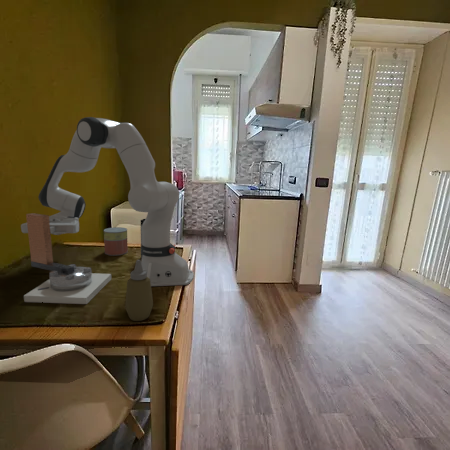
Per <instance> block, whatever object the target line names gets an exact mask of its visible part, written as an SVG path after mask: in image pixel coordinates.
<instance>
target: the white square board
mask: <svg viewBox="0 0 450 450" xmlns="http://www.w3.org/2000/svg"><path fill="white" fill-rule="evenodd" d="M111 280H112V273H98V272H97V273H93V272H92V282H91V284H89V285H88V286H86V287H84V288H81V289H77V290H73V291H55V290H53V289H51V287H50V278H49V279H47V280H46V281H44V282H42V283H40V284H39V285H38V286H36V287H35V288H33V289H32V290H30V291H29V292H27V293H26V294H24V295H23V300H24V303H42V302H43V303H46V304H47V303H48V304H49V303H50V304H69V305H70V304H73V305H75V304H76V305H87V304H88V303H90V301H92V299H93V298H95V297H96V295H98V293H99V292H100V291H101V290H102V289H103V288H104V287H105V286H106V285H108V283H109V282H110V281H111Z"/></svg>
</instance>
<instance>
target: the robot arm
mask: <svg viewBox="0 0 450 450" xmlns="http://www.w3.org/2000/svg"><path fill="white" fill-rule="evenodd" d="M102 148H103V149H116V151H117V154H118V155H119V158H120V160H121V161H122V164H123V165H124V168H125V170H126V172H127V175H128V178H129V183H130V190H128V191H129V192H128V195H127V198H128V199H127V200H128V204H129V205H130V207H131V208H132V209H133V210H135V212H139V213H147V214H146V217H145V218H144V219H145V221H144V222H143V224H142V244H141V243H140V258H141V264H142V268H143V270H146V271H147V277H148V278H149V279H150V282H151V287H164V286H166V287H167V286H187V285H189V284H191V283H192V282H193V280H194V279H195V278H194V277H195V276H194V275H195V272H194V271H193V270H191V269H189V264H188V261H187V260H186V259H184V258H183V257H182V256H180V255H179V254H178V253H177V252H176V244H173V243H171V226H172V220H173V219H172V218H173V216H174V211H175V207H176V204H177V203H178V201H179V199H180V190H179V189H178V187H177V186H176V185H175V184H174V183H171V182H167V181H158V180H157V177H156V174H155V169H156V162H155V159H154V158H153V156H152V153H151V151H150V149H149V147H148V145H147V143H146V141H145V140H144V138H143V136H142V134H141V133H140V132H139V131H138V129H137V128H136V127H135V125H134V124H132V123H129V122H120V121H115V120H112V119H109V118H102V117H92V116H87V117H83V118H80V119H79V120H78V123H77V125H76V130H75V132H74V134H73V136H72V139H71V143H70V146H69V149H68V151H67V153H65V154H62V155H59V157H58V158H57V159H56V160H55V162H54V164H53V166H52V169H51V170H50V173H49V175H48V177H47V179H46V181H45V183H44V185H43V187H42V188H41V190H40V192H39V194H38V196H37V197H38V200H39V202H40V204H41V205H42V206H43V207H47V208H51V209H54V210H56V211H59V212H58V213H55V214H52V215H49V223H50V234H51V235H55V236H56V235H57V236H61V235H65V234H77V233H78V232H80V221H79V220H80V218H81V217H82V216H83V214H84V213H85V210H86V201H85V199H84V197H83V196H82V195H80V194H77V193H73V192H70V191H68V190H66V189H63V188H62V187H59V184H60V182H61V179H62V178H63V175H64V174H65V173H67V172H68V173H70V172H71V173H85V172H86V173H87V172H90V171H91V170H93V169H94V168H95V166H96V165H97V163H98V159H99V155H100V151H101V149H102ZM20 229H21V231H20V232H22V233H23V234H28V227H27V222H25V223H22V224H20Z"/></svg>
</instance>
